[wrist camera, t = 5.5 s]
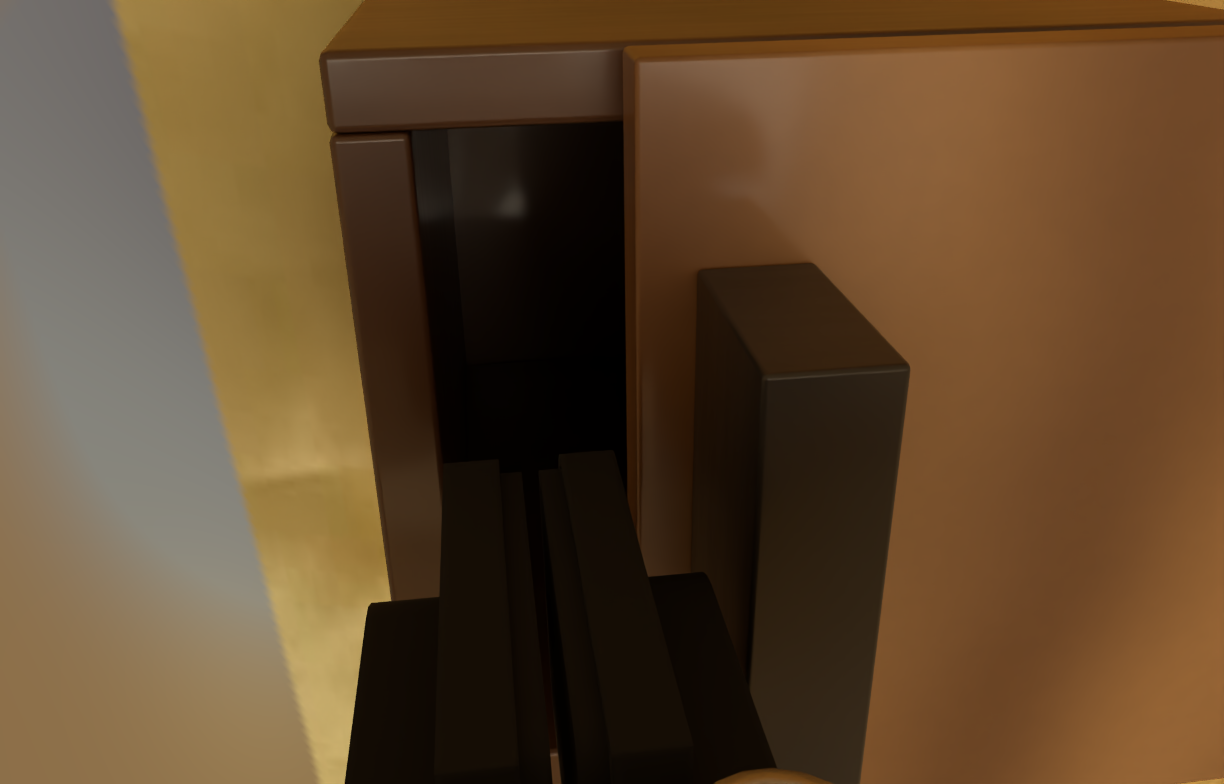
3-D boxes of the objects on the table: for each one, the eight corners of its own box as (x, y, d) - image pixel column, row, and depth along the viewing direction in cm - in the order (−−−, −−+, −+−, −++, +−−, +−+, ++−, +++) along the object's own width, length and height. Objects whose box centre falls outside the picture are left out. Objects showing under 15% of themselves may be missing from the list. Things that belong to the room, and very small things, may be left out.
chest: (437, 382, 27) (418, 810, 14) (395, -41, 22) (316, 51, 10) (816, 355, 28) (1102, 732, 15) (848, -53, 23) (1283, 18, 11)
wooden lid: (630, 803, 14) (674, 1039, 11) (621, 45, 10) (690, 112, 7) (1296, 725, 15) (1494, 923, 12) (1554, 12, 11) (1953, 57, 8)
